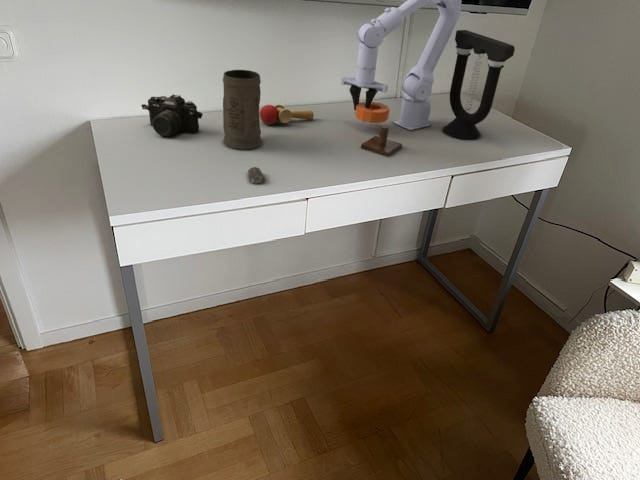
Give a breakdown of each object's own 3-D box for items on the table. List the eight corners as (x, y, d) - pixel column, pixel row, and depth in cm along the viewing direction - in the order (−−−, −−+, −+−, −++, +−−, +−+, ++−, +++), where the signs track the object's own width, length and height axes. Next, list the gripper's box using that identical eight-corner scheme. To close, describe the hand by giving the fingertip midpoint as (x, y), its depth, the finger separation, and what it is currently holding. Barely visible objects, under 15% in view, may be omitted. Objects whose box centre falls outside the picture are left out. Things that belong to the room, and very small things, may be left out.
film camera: (135, 137, 140) (130, 102, 135) (146, 122, 150) (142, 89, 145) (199, 141, 141) (197, 106, 136) (206, 125, 152) (204, 93, 146)
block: (259, 172, 127) (259, 166, 126) (265, 183, 123) (265, 176, 122) (245, 173, 126) (245, 167, 125) (251, 184, 122) (251, 178, 121)
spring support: (429, 125, 167) (448, 30, 150) (456, 121, 172) (478, 29, 156) (471, 148, 152) (498, 46, 135) (500, 143, 157) (529, 44, 141)
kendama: (303, 118, 167) (254, 116, 158) (308, 101, 163) (258, 98, 154) (313, 130, 162) (262, 129, 153) (318, 113, 158) (267, 110, 149)
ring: (372, 110, 163) (374, 99, 161) (394, 119, 157) (395, 109, 155) (349, 114, 158) (350, 104, 156) (370, 125, 151) (371, 114, 150)
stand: (375, 139, 153) (378, 118, 149) (401, 147, 149) (405, 126, 145) (360, 147, 146) (363, 126, 143) (388, 156, 142) (391, 135, 139)
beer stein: (253, 153, 137) (255, 79, 127) (217, 147, 138) (216, 73, 128) (269, 137, 150) (272, 69, 140) (235, 132, 152) (236, 64, 142)
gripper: (339, 65, 149) (335, 109, 157) (385, 74, 145) (379, 119, 152) (347, 61, 155) (343, 103, 162) (392, 68, 150) (385, 112, 158)
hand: (361, 110), depth 158 cm, fingers closed on ring, 3 cm apart
